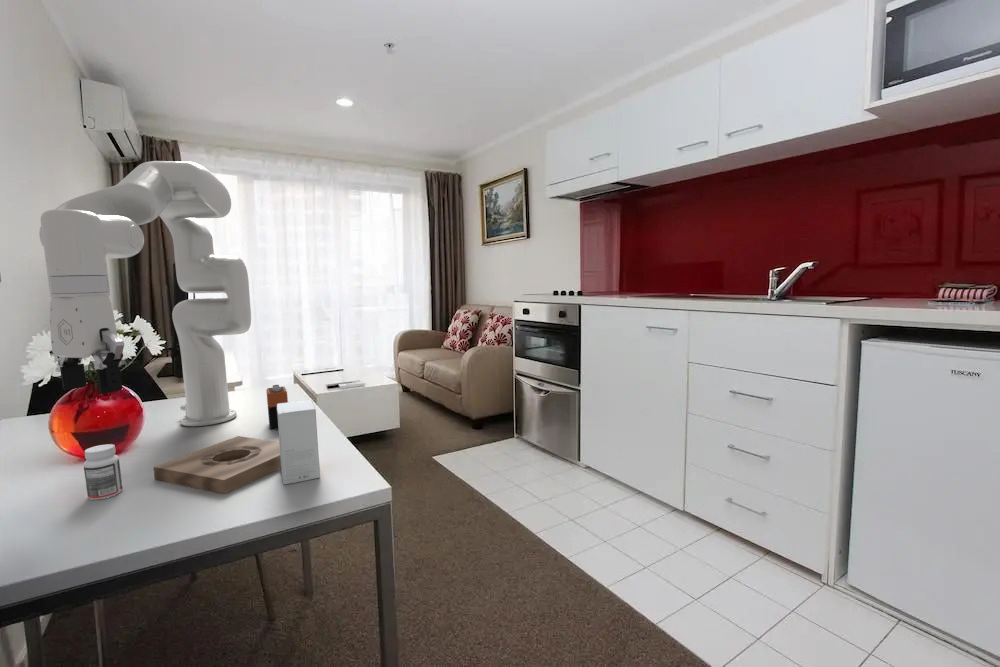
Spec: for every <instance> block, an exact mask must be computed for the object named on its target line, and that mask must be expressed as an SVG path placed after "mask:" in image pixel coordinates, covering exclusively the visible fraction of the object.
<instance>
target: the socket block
mask: <svg viewBox="0 0 1000 667" xmlns="http://www.w3.org/2000/svg"><path fill="white" fill-rule="evenodd" d="M279 469H281V458H280V445H279V441H277V440H270V439H269V440H268V439H261V438H254V437H249V436H248V437H246V436H240V435H237V436H234V437H232V438H228V439H226V440H223V441H220V442H218V443H215V444H212V445H210V446H207V447H204V448H201V449H199V450H196V451H194V452H190V453H188V454H185V455H182V456H179V457H177V458H173V459H171V460H168V461H165V462H163V463H160V464H158V465H155V466H153V474H154V477H153V478H154V480H155V481H159V482H163V483H169V484H173V485H179V486H183V487H188V488H194V489H198V490H203V491H209V492H212V493H218V494H223V495H227V494H228V493H230V492H233V491H235V490H237V489H238V488H242V487H243V486H245V485H247V484H249V483H252V482H254V481H256V480H258V479H260V478H263V477H264V476H266V475H268V474H270V473H272V472H275V471H276V470H279Z"/></svg>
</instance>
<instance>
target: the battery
mask: <svg viewBox="0 0 1000 667" xmlns="http://www.w3.org/2000/svg"><path fill="white" fill-rule="evenodd" d="M266 400H267V403H266V404H267V414H268V423H269V424H268V425H269V429H270V430H271V429H274V430H278V429H277V428H278V415H277V404H279V403H288V402H289V399H288V391H287V389H286V387H285V386H280V384H273V385H272V387H268V388H267V389H266Z"/></svg>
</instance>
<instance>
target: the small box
mask: <svg viewBox="0 0 1000 667" xmlns="http://www.w3.org/2000/svg"><path fill="white" fill-rule="evenodd" d="M316 410H317V409H316V407H315V405H314V403H313V401H312V399H306V400H299V401H298V400H297V401H290V402H289V401H288V403H279V404H277V415H278V429H277V430H278V442H279V445H280V458H281V468H280V469H281V478H282V479H281V480H282V484H283V486H284V485H290V484H295V483H302V482H305V481H312V480H316V479H320V478H321V469H320V468H321V467H320V458H319V456H320V455H319V442H318V441H319V440H318V427H317V426H318V425H317V411H316Z"/></svg>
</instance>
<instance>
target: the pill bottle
mask: <svg viewBox="0 0 1000 667" xmlns="http://www.w3.org/2000/svg"><path fill="white" fill-rule="evenodd" d="M116 450H117V449H116V446H115V444H113V443H109V444H108V443H107V444H99V445H95V446H91V447H89V448H86V449H85V450H84V458H85V459H86V460H84V462H83V471H84V472H83V473H84V479H85V480H84V481H85V486H86V494H87V498H88V500H90V501H91V500H92V501H99V499H102V500H105V499H104V498H106V499H109V498H108V497H110V498H112V497H111V496H113V497H115V496H117V495H119V494H121V493H122V492H121V491H124V490H123V482H122V481H123V479H122V472H121V471H122V470H121V466H120V458H119V456H118V455H117V454H116ZM118 493H119V494H118ZM116 494H117V495H116ZM114 495H115V496H114Z"/></svg>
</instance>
